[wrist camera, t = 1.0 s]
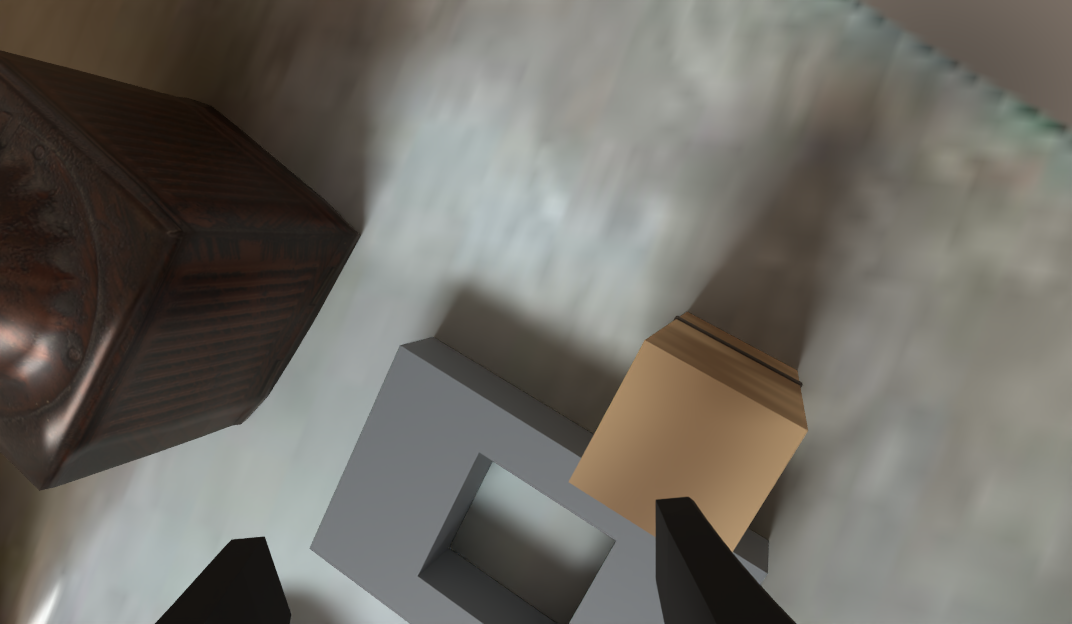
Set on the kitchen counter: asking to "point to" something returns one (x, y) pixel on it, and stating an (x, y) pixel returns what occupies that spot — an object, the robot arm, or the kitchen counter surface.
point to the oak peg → (695, 429)
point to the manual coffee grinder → (142, 270)
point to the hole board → (450, 486)
